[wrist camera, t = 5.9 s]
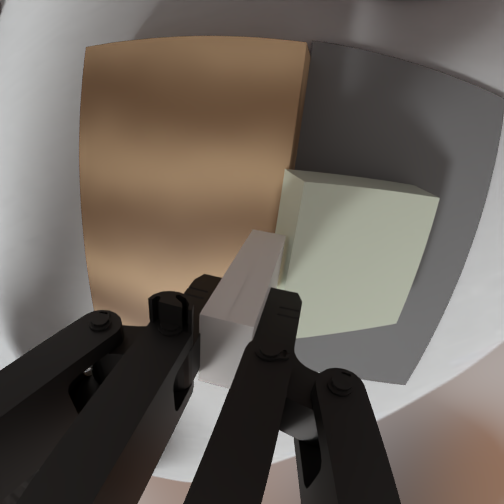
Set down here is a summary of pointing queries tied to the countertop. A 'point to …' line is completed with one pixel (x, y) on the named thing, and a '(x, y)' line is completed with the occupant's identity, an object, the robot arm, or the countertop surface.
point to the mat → (402, 171)
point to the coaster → (350, 248)
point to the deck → (182, 158)
